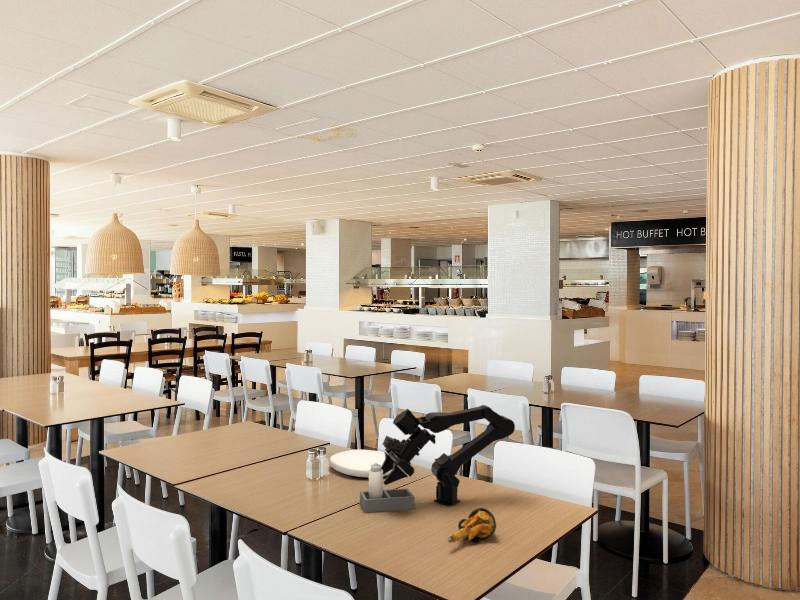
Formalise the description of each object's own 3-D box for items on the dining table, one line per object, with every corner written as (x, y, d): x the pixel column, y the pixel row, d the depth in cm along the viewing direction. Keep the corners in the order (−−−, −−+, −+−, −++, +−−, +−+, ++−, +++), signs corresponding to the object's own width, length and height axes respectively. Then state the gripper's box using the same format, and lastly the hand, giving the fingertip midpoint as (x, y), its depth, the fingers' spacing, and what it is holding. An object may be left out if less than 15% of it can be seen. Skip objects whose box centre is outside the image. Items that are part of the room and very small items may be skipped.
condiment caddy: (407, 500, 205) (407, 488, 205) (414, 509, 197) (414, 496, 197) (359, 503, 201) (360, 491, 201) (364, 512, 193) (364, 500, 193)
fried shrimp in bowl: (508, 520, 176) (484, 518, 162) (489, 553, 176) (463, 555, 161) (483, 501, 181) (458, 498, 167) (465, 534, 181) (438, 533, 167)
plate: (413, 455, 244) (380, 473, 221) (411, 471, 245) (378, 490, 221) (354, 439, 257) (317, 454, 234) (352, 454, 258) (315, 470, 234)
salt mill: (384, 502, 200) (384, 461, 200) (380, 507, 195) (381, 465, 195) (370, 501, 201) (371, 460, 201) (366, 505, 196) (367, 464, 196)
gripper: (390, 421, 209) (359, 455, 206) (404, 434, 190) (370, 471, 188) (412, 443, 211) (381, 477, 208) (428, 457, 193) (394, 495, 190)
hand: (381, 479), depth 198 cm, fingers open, 9 cm apart
